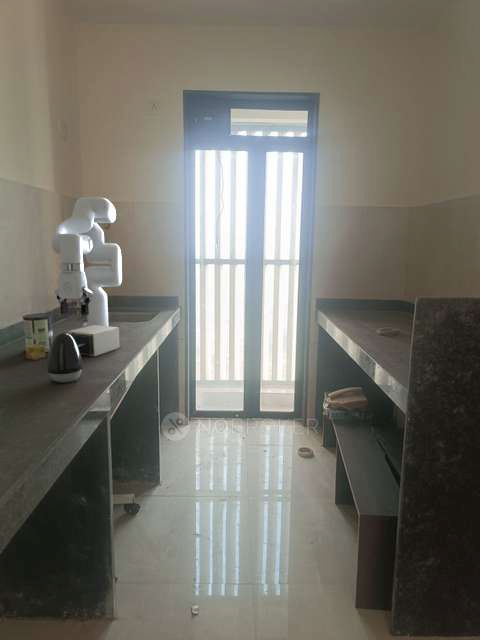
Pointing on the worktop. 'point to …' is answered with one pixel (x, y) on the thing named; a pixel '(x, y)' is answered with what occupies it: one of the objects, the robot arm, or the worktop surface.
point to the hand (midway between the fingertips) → (74, 314)
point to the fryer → (100, 338)
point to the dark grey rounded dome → (64, 359)
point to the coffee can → (38, 330)
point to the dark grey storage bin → (84, 343)
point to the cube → (35, 351)
